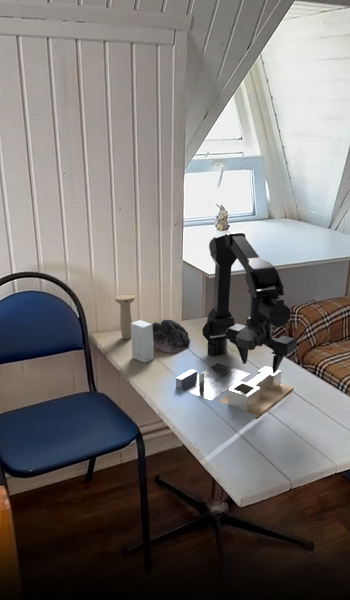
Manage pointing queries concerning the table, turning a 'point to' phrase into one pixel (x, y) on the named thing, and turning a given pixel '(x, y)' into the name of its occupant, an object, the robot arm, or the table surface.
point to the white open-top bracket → (253, 389)
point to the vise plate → (210, 380)
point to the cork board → (267, 399)
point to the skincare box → (142, 341)
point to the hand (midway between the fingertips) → (259, 368)
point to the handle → (125, 314)
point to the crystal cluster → (170, 336)
